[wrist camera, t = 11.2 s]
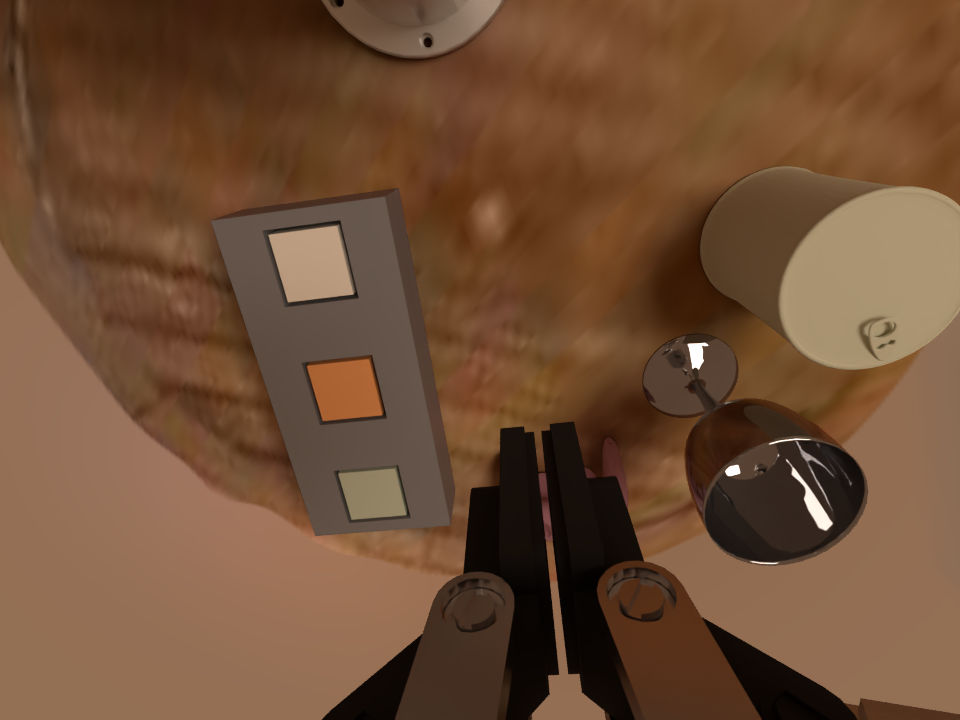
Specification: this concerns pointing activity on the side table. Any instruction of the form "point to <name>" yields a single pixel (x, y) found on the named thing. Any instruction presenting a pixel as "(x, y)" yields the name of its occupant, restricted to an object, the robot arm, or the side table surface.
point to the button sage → (374, 492)
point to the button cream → (313, 261)
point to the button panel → (342, 334)
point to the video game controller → (609, 468)
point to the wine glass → (754, 460)
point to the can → (837, 262)
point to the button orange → (346, 387)
